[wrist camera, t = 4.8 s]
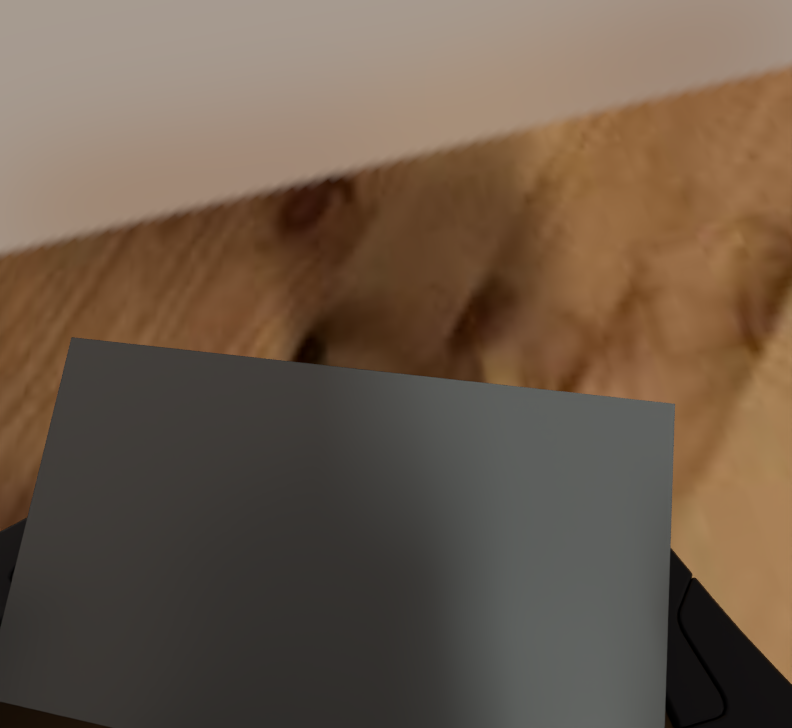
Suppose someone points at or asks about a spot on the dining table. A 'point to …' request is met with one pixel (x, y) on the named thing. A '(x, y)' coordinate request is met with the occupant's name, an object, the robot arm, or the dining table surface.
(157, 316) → the dining table surface
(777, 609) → the dining table surface
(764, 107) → the dining table surface
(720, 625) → the robot arm
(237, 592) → the block
